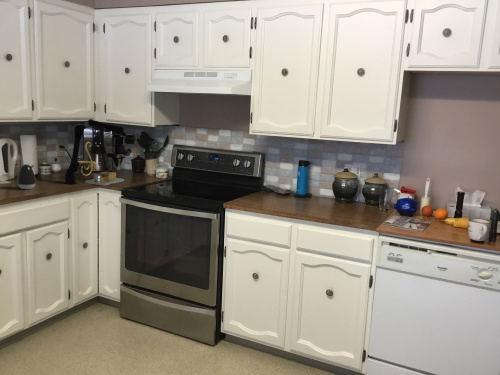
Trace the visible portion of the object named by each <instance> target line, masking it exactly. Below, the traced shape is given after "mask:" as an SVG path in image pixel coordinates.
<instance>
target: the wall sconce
mask: <svg viewBox="0 0 500 375" xmlns="http://www.w3.org/2000/svg"><path fill="white" fill-rule="evenodd" d="M88 144H89V145H88ZM84 147H85V148H84V149H85V151H86V154H87V155H88V157H89V161H88V160H78V162H80V164H81V167H80V172H81V174H82V176H84V177H88V176H89V175H91V173H92V172H93V171H94V170H95V171H96V169H97V167H98V164H97V163H96V162H95V160H94V161H93V160H92V157H91V155H90V152H89V150H88V147H89V148H91V147H92V143H91V142H90V141H87V142H86V143H85V146H84ZM83 168H84V169H85V170H87V171H88V170H89V169H90V171H89V173H87V174H85V173H84V172H83Z"/></svg>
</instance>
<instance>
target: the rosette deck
mask: <svg viewBox="0 0 500 375" xmlns="http://www.w3.org/2000/svg"><path fill="white" fill-rule="evenodd" d="M124 181H125V179H124V178H120V177H117V172H111V171H104V172H103V171H101V172H99V174H94V175H93V179H92V178H91V179H88V180H84V183H85V184H91V185H97V186H98V185H100V186H108V185H112V184H117V183H121V182H122V183H123V182H124Z"/></svg>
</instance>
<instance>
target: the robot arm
mask: <svg viewBox="0 0 500 375" xmlns="http://www.w3.org/2000/svg"><path fill="white" fill-rule="evenodd" d="M93 126H94V127H96V128H100V129H104V130H108V131H110V132H112V133H113V134H112V135H111V138H114V142H113V143H114V145H112V147H113V149H114V150H113V151H112V152H111V151H110V152H107V153H106V157H107V158H111V159H112V161H113V163H114V165H115V167H116V168H117V167H118V164H119V159H121V160H120V167H121V165H122V163H123V160H124V159H125V158H126V157H130V156H131V154H132V152H133V151H132V148H130V147H129V148H126V147H125V145H131V146H134V145H135V143H136V142H135V134H127V133H126V132H125V130H124V127H123V126H122V125H119V124H110V123H106V122H102V121H98V120H95V119H93V118H92V119H91V118H90V119H88V120H87V121H84V122H83V123H77V124H75V126H74V143H73V148H72V149H73V150H72V156H71V160H70V163H69V165H68V168H67V169H66V170H65V174H64V178H65V181H64V182H63V185H64V184H65V185H75V184H78V182H77V181H76V180H77V176H76V173H77V172H78V170H79V169H80V164H81V163H80V162H78V161H79V153H80V145H81V139H82V136H83V133H84V131H85V130H86V129H88V128H89V127H93ZM124 144H125V145H124Z"/></svg>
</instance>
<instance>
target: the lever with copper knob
mask: <svg viewBox="0 0 500 375" xmlns="http://www.w3.org/2000/svg"><path fill="white" fill-rule="evenodd" d="M120 160H121V159H119V164H118V167H116V171H118V172H120V171H121V166H120Z"/></svg>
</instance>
